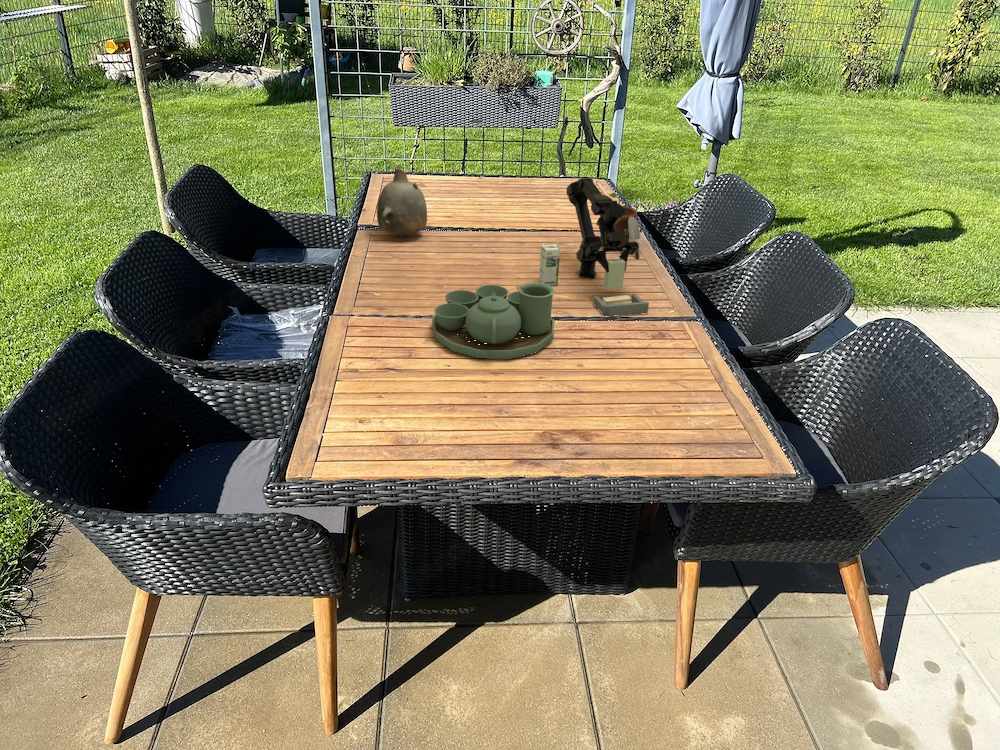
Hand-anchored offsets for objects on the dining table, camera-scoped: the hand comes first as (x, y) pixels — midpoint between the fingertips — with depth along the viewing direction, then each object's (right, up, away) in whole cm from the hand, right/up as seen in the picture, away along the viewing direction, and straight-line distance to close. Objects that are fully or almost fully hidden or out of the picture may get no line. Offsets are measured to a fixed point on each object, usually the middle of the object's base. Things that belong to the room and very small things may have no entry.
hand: (616, 271), depth 246 cm
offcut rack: (+1, -13, 0) cm, 13 cm away
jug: (-84, +24, +58) cm, 105 cm away
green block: (-1, -5, +4) cm, 7 cm away
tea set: (-44, -23, -18) cm, 53 cm away
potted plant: (+9, +18, +54) cm, 57 cm away
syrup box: (-23, -2, +19) cm, 30 cm away
